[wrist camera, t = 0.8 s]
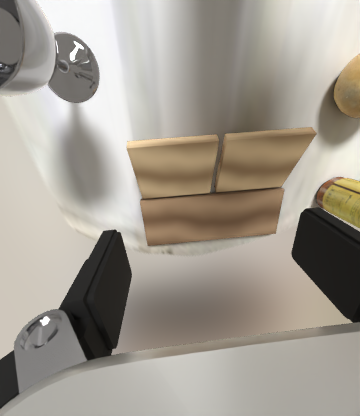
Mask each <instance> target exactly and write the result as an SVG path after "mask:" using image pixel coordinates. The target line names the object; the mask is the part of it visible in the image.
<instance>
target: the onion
mask: <svg viewBox="0 0 360 416" xmlns="http://www.w3.org/2000/svg"><path fill="white" fill-rule="evenodd" d="M334 100H335V102H336V103H337V105H336V106H338V108H339V109H340V111H341V112H343V113H344V114H346V115H348V116H350V117H353V118H360V54H358V55H357V56H356V57H355V58H353V59H352V60H351V61H350V62H349V63H348V64H347V66H346V67H345V68H344V69H343V70H342V72H341V74H340V75H339V77H338V80H337V82H336V84H335V88H334Z"/></svg>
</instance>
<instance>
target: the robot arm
mask: <svg viewBox="0 0 360 416" xmlns="http://www.w3.org/2000/svg"><path fill="white" fill-rule="evenodd" d="M292 257H293V259H294V260H295V261H296V263H297V264H298V265H299V266H300V267H301V268H302V269H303V271H305V273H306V274H307V275H308V276H309V277H310V278H311V280H313V282H314V283H315V284H316V285H317V286H318V287H319V289H320V290H321V291H322V292H323V293H324V294H325V295H326V296H327V297H328V298H329V300H330V301H331V302H332V303H333V304H334V305H335V306H336V308H337V309H338V310H339V311H340V312H341V313H342V314H343V315H344V316H345V317H346V318H347V319H350V320H351V321H352V322H353V323H349V324H341V325H334V326H324V327H316V328H309V329H300V330H292V331H285V332H276V333H268V334H260V335H253V336H244V337H237V338H229V339H222V340H214V341H206V342H199V343H191V344H183V345H175V346H168V347H162V348H154V349H148V350H141V351H134V352H128V353H122V354H116V355H111V353H112V349H114V348H116V347H117V344H118V339H119V335H120V329H121V325H122V320H123V316H124V311H125V306H126V301H127V297H128V292H129V287H130V282H131V277H132V273H131V268H130V265H129V261H128V257H127V254H126V250H125V247H124V243H123V239H122V236H121V233H120V232H117V231H116V230H107V231H103V233H102V234H101V236H100V238H99V240H98V242H97V244H96V245H95V247H94V249H93V251H92V253H91V255H90V257H89V259H87V260H86V261H85V262H84V264H83V266H82V268H81V269H80V271H79V273H78V275H77V277H76V278H75V280H74V282H73V284H72V286H71V287H70V289H69V291H68V293H67V295H66V297H65V298H64V300H63V302H62V304H61V306H60V307H59V309H55V310H50V311H46V312H44V313H42V314H40V315H38V316H37V317H35V318H34V319H32V320H31V321H30V322H29V323H28V324H27V325H26V326H25V327H24V328H23V329H22V330H21V332H20V333H19V334H18V336H17V338H16V340H15V343H14V350H13V351H12V352H10V353H9V354H8V355H6V356H5V357H3V358H2V359H1V360H0V416H360V232H359V231H358V230H356V229H354V228H353V227H351V226H349V225H348V224H346V223H344V222H343V221H341V220H339V219H338V218H336V217H334V216H332V215H331V214H329V213H327V212H326V211H324V210H322V209H321V208H318V207H317V208H307V209H305V210H304V211H303V212H302V213H301V215H300V219H299V223H298V228H297V231H296V236H295V240H294V244H293V248H292Z"/></svg>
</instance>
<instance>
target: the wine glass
mask: <svg viewBox="0 0 360 416" xmlns="http://www.w3.org/2000/svg"><path fill="white" fill-rule="evenodd" d="M98 84H99V68H98V64H97V61H96V59H95V56H94V54H93V53H92V51H91V50H90V48H89V47H88V46H87V45H86V44H85V43H84V42H83V41H82V40H81V39H79V38H78V37H76V36H75V35H72V34H70V33H66V32H56V33H54V32H53V30H52V27H51V25H50V23H49V21H48V19H47V17H46V15H45V13H44V12H43V10H42V9H41V7H40V6H39V4H38V3H37V1H36V0H0V96H19V95H25V94H30V93H33V92H36V91H38V90H41V89H42V88H44V87H45V86H46V85H48V86H49V88H50V89H51V90H52V91H53V92H54V93H55V94H57V95H58V96H59V97H61V98H63V99H65V100H67V101H70V102H83V101H86V100H88V99H89V98H91V97H92V96H93V95H94V93H95V92H96V90H97V87H98Z"/></svg>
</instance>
